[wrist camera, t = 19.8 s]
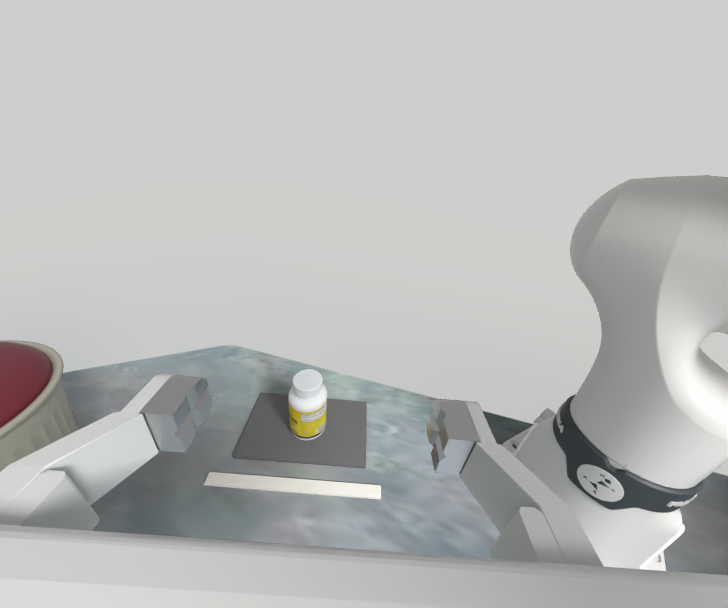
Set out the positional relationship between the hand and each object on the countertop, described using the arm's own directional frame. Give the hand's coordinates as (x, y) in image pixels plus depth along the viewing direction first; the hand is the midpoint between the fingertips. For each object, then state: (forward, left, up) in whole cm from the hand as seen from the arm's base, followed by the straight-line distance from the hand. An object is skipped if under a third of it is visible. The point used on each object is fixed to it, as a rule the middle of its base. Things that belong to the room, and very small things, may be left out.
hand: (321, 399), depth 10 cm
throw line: (-4, -12, -30) cm, 33 cm away
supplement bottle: (-10, -18, -30) cm, 36 cm away
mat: (-10, -19, -30) cm, 37 cm away
